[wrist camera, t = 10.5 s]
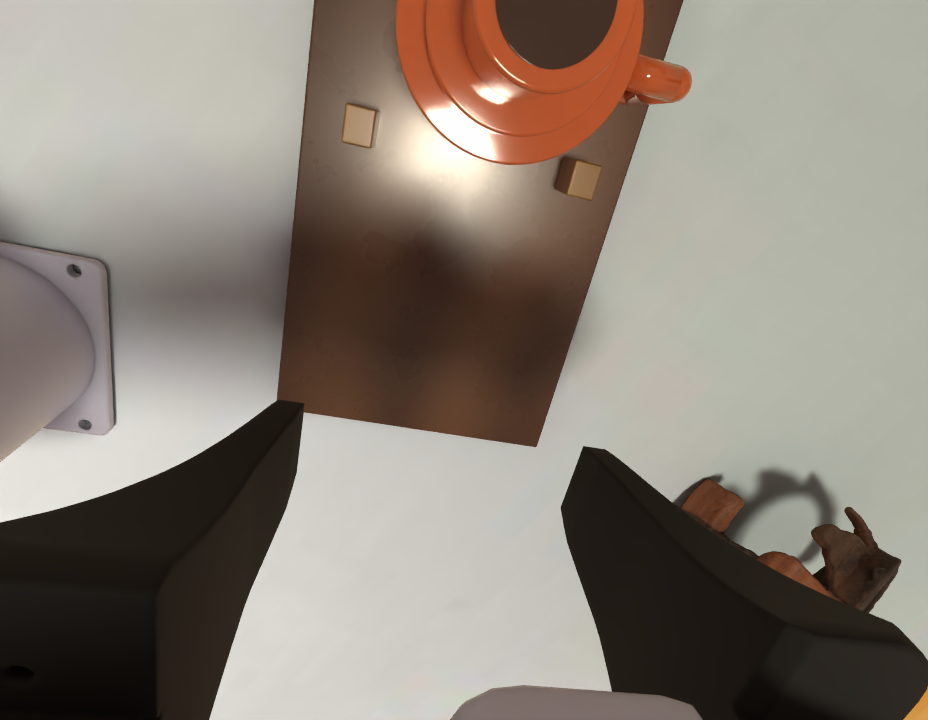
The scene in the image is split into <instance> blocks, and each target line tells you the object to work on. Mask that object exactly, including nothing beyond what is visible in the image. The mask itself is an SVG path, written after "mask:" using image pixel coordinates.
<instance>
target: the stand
mask: <svg viewBox="0 0 928 720" xmlns="http://www.w3.org/2000/svg"><path fill="white" fill-rule="evenodd" d="M396 2H397V0H314V8H313V19H312V30H311V40H310V51H309V62H308V72H307V83H306V94H305V104H304V115H303V126H302V136H301V147H300V158H299V168H298V179H297V190H296V200H295V211H294V222H293V232H292V243H291V254H290V264H289V275H288V286H287V296H286V307H285V318H284V328H283V339H282V350H281V360H280V371H279V382H278V392H277V400H286V401H292V402H299V403H305V405H304V412H306V413H313V414H320V415H326V416H333V417H340V418H346V419H353V420H359V421H366V422H373V423H379V424H386V425H393V426H399V427H406V428H412V429H419V430H426V431H432V432H439V433H446V434H452V435H459V436H465V437H472V438H479V439H485V440H492V441H499V442H505V443H512V444H518V445H525V446H532V447H536V446H537V444H538V441H539V438H540V435H541V432H542V429H543V426H544V422H545V419H546V416H547V413H548V410H549V407H550V404H551V401H552V398H553V395H554V392H555V389H556V386H557V383H558V380H559V377H560V374H561V371H562V368H563V365H564V362H565V359H566V356H567V353H568V350H569V347H570V343H571V340H572V337H573V334H574V331H575V328H576V325H577V322H578V319H579V316H580V313H581V310H582V307H583V304H584V301H585V298H586V295H587V292H588V289H589V286H590V283H591V280H592V277H593V274H594V271H595V267H596V264H597V261H598V258H599V255H600V252H601V249H602V246H603V243H604V240H605V237H606V234H607V231H608V228H609V225H610V222H611V219H612V216H613V213H614V210H615V207H616V204H617V201H618V198H619V195H620V191H621V188H622V185H623V182H624V179H625V176H626V173H627V170H628V167H629V164H630V161H631V158H632V155H633V152H634V149H635V146H636V143H637V140H638V137H639V134H640V131H641V128H642V125H643V122H644V119H645V116H646V112H647V109H648V106H649V105H640V106H627V105H623V104H619V103H618V104H617V106H616V107H615V109H614V110H613V112H612V113H611V114H610V115H609V117H608V118H607V119H606V120H605V122H604V123H603V124H602V125H601V126H600V127H599V128H598V129H597V130H596V131H595V132H594V133H593V134H592V135H591V136H590V137H588V138H587V139H586V140H584V141H583V142H582V143H580V144H579V145H578V146H576V147H575V148H573V149H571V150H569V151H568V152H566V153H564V154H562V155H559V156H557V157H554V158H552V159H550V160H546V161H542V162H538V163H534V164H525V165H504V164H498V163H492V162H488V161H485V160H482V159H479V158H476V157H474V156H472V155H470V154H468V153H466V152H463V151H462V150H460V149H458V148H457V147H455V146H453V145H451V144H450V143H448V142H447V141H445V140H444V139H442V138H441V137H440V136H439V135H437V134H436V133H435V132H434V131H433V130H432V129H431V128H430V127H429V126H428V125H427V123H426V122H425V121H424V120H423V118H422V117H421V115H420V114H419V112H418V111H417V109H416V107H415V105H414V103H413V101H412V99H411V96H410V93H409V91H408V88H407V85H406V82H405V79H404V75H403V72H402V68H401V64H400V60H399V56H398V50H397V43H396V31H395V13H396ZM682 3H683V0H643V5H644V17H643V32H642V39H641V46H640V50H639V54H642V55H645V56H649V57H652V58H655V59H659V60H662V61H664V58H665V55H666V52H667V49H668V46H669V43H670V40H671V36H672V33H673V30H674V27H675V24H676V21H677V18H678V15H679V12H680V9H681V6H682Z"/></svg>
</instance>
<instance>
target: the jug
mask: <svg viewBox="0 0 928 720" xmlns="http://www.w3.org/2000/svg"><path fill="white" fill-rule="evenodd" d="M643 17H644V5H643V0H397V2H396V13H395V31H396V43H397V50H398V56H399V60H400V64H401V68H402V72H403V75H404V79H405V82H406V85H407V88H408V91H409V93H410V96H411V99H412V101H413V103H414V105H415V107H416V109H417V111H418V112H419V114H420V115H421V117H422V118H423V120H424V121H425V122H426V123H427V125H428V126H429V127H430V128H431V129H432V130H433V131H434V132H435V133H436V134H437V135H439V136H440V137H441V138H442V139H444V140H445V141H447V142H448V143H450V144H451V145H453V146H455V147H457V148H458V149H460V150H462V151H463V152H466V153H468V154H470V155H472V156H474V157H476V158H479V159H482V160H485V161H488V162H492V163H498V164H504V165H525V164H534V163H538V162H542V161H546V160H550V159H552V158H554V157H557V156H559V155H562V154H564V153H566V152H568V151H569V150H571V149H573V148H575V147H576V146H578V145H579V144H580V143H582V142H583V141H584V140H586V139H587V138H588V137H590V136H591V135H592V134H593V133H594V132H595V131H596V130H597V129H598V128H599V127H600V126H601V125H602V124H603V123H604V122H605V120H606V119H607V118H608V117H609V115H610V114H611V113H612V112H613V110H614V109H615V107H616V106H617V104H618V103H619V104H623V105H627V106H640V105H651V104H662V103H673V102H677V101H679V100H681V99H683V98H684V97H685V96H686V95H687V94H688V92H689V90H690V88H691V85H692V77H691V74H690V72H689V71H688V69H686V68H685V67H683V66H680V65H676V64H673V63H669V62H666V61H662V60H659V59H655V58H652V57H649V56H645V55H642V54H639V50H640V46H641V39H642V32H643Z"/></svg>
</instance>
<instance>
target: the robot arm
mask: <svg viewBox="0 0 928 720" xmlns="http://www.w3.org/2000/svg"><path fill="white" fill-rule="evenodd" d="M73 264H74V265H77V266H78V267H79V268H80V269H81V275H80V274H77V273H76V272H75V271H74V270H73ZM304 405H305V403H299V402H292V401H286V400H277V401H276V402H274V403H273V404H271V405H270V406H269V407H267V408H266V409H265V410H263V411H262V412H261V413H259V414H258V415H257V416H255V417H254V418H253V419H251V420H250V421H249V422H247V423H246V424H245V425H243V426H242V427H240V428H239V429H237V430H236V431H234V432H233V433H232V434H230V435H229V436H227V437H226V438H224V439H223V440H221V441H219V442H218V443H216V444H215V445H213V446H211V447H210V448H208V449H206V450H205V451H203V452H201V453H200V454H198V455H196V456H194V457H193V458H191V459H189V460H187V461H185V462H183V463H181V464H179V465H177V466H175V467H173V468H171V469H169V470H166V471H164V472H162V473H160V474H158V475H155V476H153V477H151V478H148V479H145V480H143V481H140V482H138V483H135V484H133V485H130V486H128V487H125V488H123V489H120V490H117V491H115V492H112V493H109V494H106V495H103V496H100V497H97V498H94V499H91V500H88V501H84V502H81V503H77V504H74V505H71V506H67V507H64V508H60V509H56V510H53V511H49V512H45V513H40V514H36V515H32V516H27V517H23V518H19V519H14V520H10V521H6V522H1V523H0V720H209V718H210V715H211V711H212V708H213V705H214V701H215V698H216V695H217V691H218V688H219V685H220V682H221V679H222V675H223V672H224V669H225V666H226V662H227V659H228V656H229V653H230V650H231V646H232V643H233V640H234V637H235V634H236V631H237V628H238V625H239V622H240V618H241V615H242V612H243V609H244V606H245V603H246V601H247V598H248V596H249V593H250V590H251V588H252V585H253V583H254V581H255V579H256V576H257V574H258V572H259V569H260V567H261V565H262V563H263V560H264V558H265V556H266V553H267V551H268V549H269V547H270V544H271V542H272V540H273V537H274V535H275V533H276V531H277V528H278V526H279V524H280V521H281V519H282V517H283V514H284V512H285V510H286V507H287V504H288V500H289V497H290V494H291V490H292V487H293V483H294V480H295V476H296V473H297V464H298V456H299V447H300V439H301V430H302V422H303V413H304ZM84 420H87V421H89V422H90V423H91V425H88V424H87V423H85V421H84ZM113 426H114V415H113V394H112V372H111V351H110V329H109V308H108V286H107V272H106V269H105V267H104V266H103V264H102V263H100V262H99V261H97V260H94V259H91V258H86V257H80V256H75V255H69V254H64V253H59V252H53V251H48V250H42V249H37V248H32V247H26V246H21V245H15V244H10V243H5V242H0V462H1V461H2V460H3V459H5V458H6V457H7V456H8V455H10V454H11V453H12V452H13V451H15V450H16V449H17V448H18V447H20V446H21V445H22V444H23V443H25V442H26V441H27V440H28V439H30V438H31V437H32V436H33V435H35V434H36V433H37V432H38V431H40V430H41V429H42V428H47V429H54V430H62V431H69V432H77V433H84V434H91V435H105V434H107V433H108V432H109V431H110V430H111V429H112V428H113ZM561 512H562V518H563V524H564V529H565V534H566V538H567V543H568V546H569V549H570V552H571V555H572V558H573V561H574V564H575V567H576V570H577V572H578V575H579V578H580V581H581V584H582V587H583V589H584V592H585V595H586V598H587V601H588V604H589V606H590V609H591V612H592V615H593V618H594V621H595V624H596V627H597V631H598V634H599V637H600V641H601V645H602V650H603V654H604V658H605V662H606V666H607V671H608V675H609V679H610V684H611V689H612V692H608V691H595V690H581V689H568V688H554V687H541V686H527V685H522V686H512V687H502V688H492V689H490V690H488V691H486V692H484V693H482V694H480V695H478V696H476V697H474V698H472V699H470V700H467V701H465V702H464V703H463V704H462V705H461V706H460V707H459V709H458V710H457V711H456V713H455V714H454V715H453V717H452V718H451V719H450V720H903V719H904V718H905V717H906V716H907V714H908V713H909V712H910V711H911V710H912V709H913V708H914V706H915V705H916V704H917V703H918V702H919V700H920V699H921V697H922V696H923V694H924V693H925V691H926V690H927V686H928V660H927V659H926V657H925V656H924V654H923V653H922V652H921V651H920V650H919V649H918V648H917V647H916V646H915V645H914V644H913V643H912V642H911V641H910V639H909V638H908V637H907V636H906V635H905V634H904V633H903V632H902V631H901V630H900V629H899V628H898V627H897V626H895V625H894V624H893V623H891V622H889V621H886V620H884V619H881V618H879V617H876V616H874V615H872V614H869V613H867V612H864V611H862V610H859V609H857V608H854V607H852V606H850V605H847V604H845V603H842V602H840V601H837V600H835V599H833V598H831V597H829V596H826V595H824V594H822V593H820V592H818V591H816V590H814V589H812V588H809V587H807V586H805V585H803V584H801V583H799V582H797V581H795V580H793V579H791V578H789V577H787V576H785V575H783V574H781V573H779V572H778V571H776V570H774V569H772V568H770V567H769V566H767V565H765V564H763V563H761V562H760V561H758V560H756V559H754V558H752V557H751V556H749V555H747V554H746V553H744V552H742V551H741V550H739V549H737V548H736V547H734V546H733V545H731V544H730V543H728V542H727V541H725V540H723V539H722V538H720V537H719V536H717V535H716V534H714V533H713V532H711V531H710V530H708V529H707V528H705V527H704V526H703V525H701V524H700V523H698V522H697V521H696V520H694V519H693V518H692V517H690V516H689V515H688V514H686V513H685V512H684V511H682V510H681V509H680V508H678V507H677V506H676V505H674V504H673V503H672V502H671V501H669V500H668V499H667V498H666V497H664V496H663V495H662V494H661V493H659V492H658V491H657V490H656V489H655V488H653V487H652V486H651V485H650V484H648V483H647V482H646V481H645V480H644V479H642V478H641V477H640V476H639V475H638V474H636V473H635V472H634V471H633V470H632V469H630V468H629V467H628V466H627V465H625V464H624V463H623V462H622V461H620V460H619V459H618V458H617V457H615V456H614V455H612V454H611V453H610V452H608V451H607V450H605V449H598V448H592V447H585V446H583V449H582V452H581V454H580V457H579V460H578V462H577V465H576V468H575V470H574V473H573V476H572V479H571V481H570V484H569V487H568V489H567V492H566V495H565V497H564V500H563V503H562V506H561Z"/></svg>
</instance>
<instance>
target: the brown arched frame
mask: <svg viewBox="0 0 928 720" xmlns="http://www.w3.org/2000/svg"><path fill="white" fill-rule="evenodd" d="M743 505H744V503H743V500H742V499H741V498H740V497H739V496H738V495H736V494H735V493H733V492H731V491H728V490H726V489H724V488H723V487H722V486H720V485H719V484H717V483H715V482H714V481H712V480H710V479H706V480H705V481H704V482H703V483H702V484H701V485H699V486H698V487H697V488H696V489H695V490H694V491H693V493H692V494H691V495H689V497H688V498H687V500H686V502H685V503H684V504H683V505H682V508H681V510H682V511H684V512H685V513H686V514H688V515H689V516H690V517H692V518H693V519H694V520H696V521H697V522H698V523H700V524H701V525H703V526H704V527H705V528H707V529H708V530H710V531H711V532H713V533H714V534H716V535H717V536H719V537H720V538H722V539H723V540H725V541H727V542H728V543H730V544H731V545H733V546H734V547H736V548H737V549H739V550H741V551H742V552H744V553H746V554H747V555H749V556H751V557H752V558H754V559H756V560H758V561H760V562H761V563H763V564H765V565H767V566H769V567H770V568H772V569H774V570H776V571H778V572H779V573H781V574H783V575H785V576H787V577H789V578H791V579H793V580H795V581H797V582H799V583H801V584H803V585H805V586H807V587H809V588H812V589H814V590H816V591H818V592H820V593H822V594H824V595H826V596H829V597H831V598H833V599H835V600H837V601H840V602H842V603H845V604H847V605H850V606H852V607H854V608H857V609H859V610H862V611H864V612H867V613H869V612H870V611H871V610H872V609H873V607H874V605H875V603H876V602H877V601H878V600H879V599H880V598H881V597H882V595H883V593H884V592H885V591H886V589H887V588H888V586H889V584H890V583H891V582H892V581H893V579H894V578H895V576H896V575H897V573H898V568H899V566H900V564H901V560H900V559H898V558H896V557H893V556H891V555H889V554H887V553H886V552H884V551H883V550H881V549H879V548H878V545H877V543H876V542H875V541H874V539H873V536H872V532H871V531H870V530H869V529H868V527H867V525H866V523H865V522H864V520H863V519H862V517H861V516H860V515H859V514H858V513H857V512H856V511H854V510H853V509H852V508H851V507H847V508H845V513H846V515H847V516H848V518H849V519H850V521H851V522H852V524H853V526H854V528H855V529H854V533H851V532H848V531H843V530H840V529H839V528H838V527H837V526H835V525H833V524H825V525H822V526H818V527H815V528H814V529H813V530H812V531H811V535H812V537H813V538H814V540H815V541H816V542H817V543H818V544H819V545H820V546H821V547H822V554H823V557H824V561H825V566H824V567H823V568H821V569H820V570H819V571H818V572H816V573H815V574H813V575H812V574H811V573H810V572H809V571H808V570H807V569H806V568H805V567H804V566H803V565H802V564H801V563H800V561H799V560H798V559H797V558H795V557H794V556H789V555H787V554H785V553H782V552H776V551H772V552H768V553H765V554H763V555H761V556H757V555H756V554H755V553H754V552H752V551H751V550H748V549H746V548H744V547H742V546H740V545H739V544H737V543H735V542H733V541H731V540H730V539H729V538H728V537H727V536H726V535H725V534H724V533H725V531H726V530H727V527H728V525H729V523H730V522H731V521H732V519H733V518H734V517H735V515H736V514H737V513H738V511H739V510H740V509H741V508H742V507H743Z"/></svg>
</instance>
